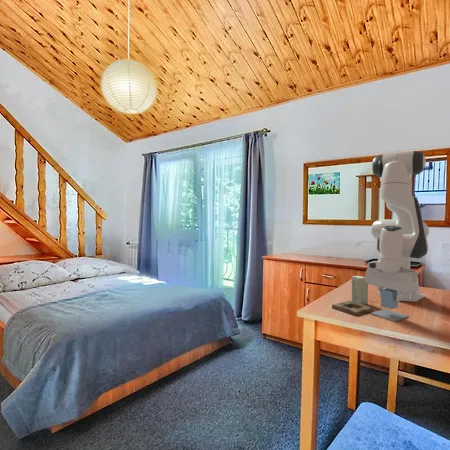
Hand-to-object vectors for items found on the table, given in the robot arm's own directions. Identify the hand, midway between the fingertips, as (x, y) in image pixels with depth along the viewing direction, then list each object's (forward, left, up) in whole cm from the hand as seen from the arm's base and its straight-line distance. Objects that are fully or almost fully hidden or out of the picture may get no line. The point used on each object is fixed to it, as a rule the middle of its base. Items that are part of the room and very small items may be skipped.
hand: (389, 299), depth 127 cm
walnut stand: (+6, -13, -7) cm, 16 cm away
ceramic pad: (0, 0, -7) cm, 7 cm away
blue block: (0, 0, -3) cm, 3 cm away
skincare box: (-6, -18, -7) cm, 20 cm away
